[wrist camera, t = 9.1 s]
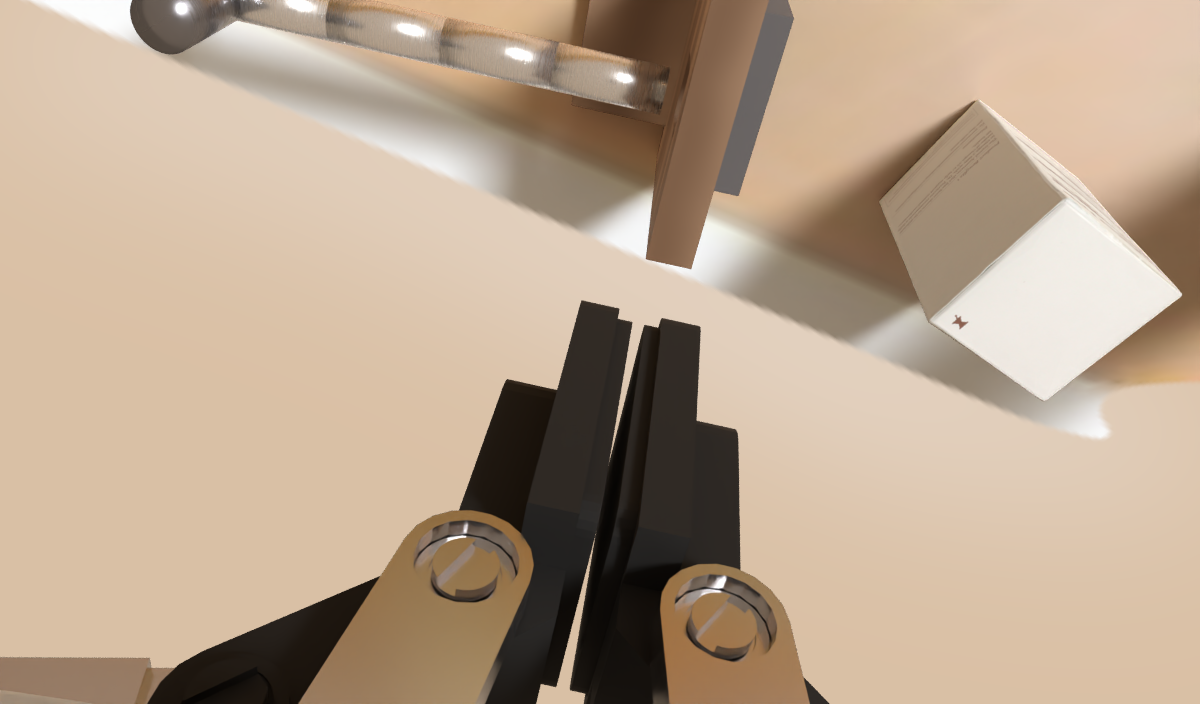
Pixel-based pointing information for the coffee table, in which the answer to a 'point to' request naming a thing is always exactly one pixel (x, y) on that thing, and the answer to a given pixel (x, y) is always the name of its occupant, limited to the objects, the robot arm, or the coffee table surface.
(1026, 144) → the supplement box
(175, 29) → the shaft
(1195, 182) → the coffee table surface
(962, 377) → the coffee table surface
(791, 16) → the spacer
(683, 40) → the bracket
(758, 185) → the coffee table surface
